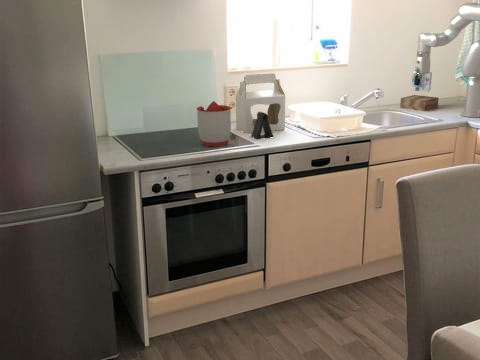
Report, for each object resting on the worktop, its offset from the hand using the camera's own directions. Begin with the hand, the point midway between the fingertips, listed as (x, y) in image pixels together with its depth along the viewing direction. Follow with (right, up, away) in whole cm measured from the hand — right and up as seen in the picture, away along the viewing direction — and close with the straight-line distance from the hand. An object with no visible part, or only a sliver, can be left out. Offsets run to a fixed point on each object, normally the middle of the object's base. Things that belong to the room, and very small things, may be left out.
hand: (420, 84), depth 333 cm
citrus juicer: (-120, -41, -75) cm, 147 cm away
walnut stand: (0, -13, +4) cm, 14 cm away
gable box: (-98, -31, -47) cm, 113 cm away
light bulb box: (0, -4, +1) cm, 4 cm away
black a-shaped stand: (-97, -37, -64) cm, 122 cm away
